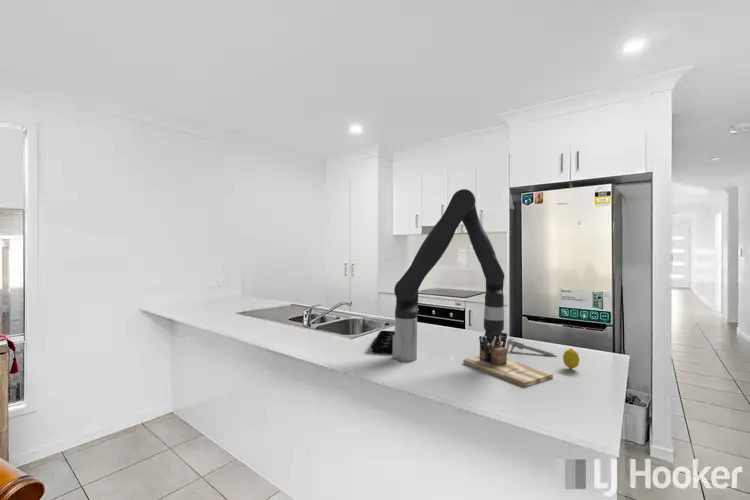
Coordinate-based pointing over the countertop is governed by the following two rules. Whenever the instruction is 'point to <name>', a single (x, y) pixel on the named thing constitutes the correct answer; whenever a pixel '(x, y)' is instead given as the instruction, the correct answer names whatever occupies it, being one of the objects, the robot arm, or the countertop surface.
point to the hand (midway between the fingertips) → (492, 360)
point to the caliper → (527, 347)
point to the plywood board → (511, 371)
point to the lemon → (571, 358)
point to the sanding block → (496, 355)
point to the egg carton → (383, 342)
